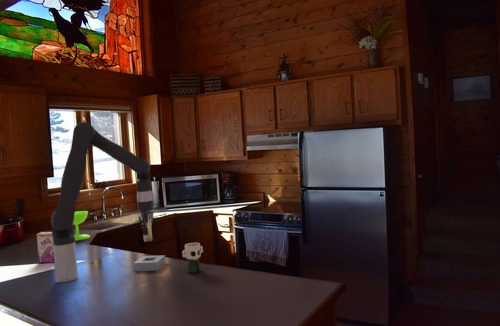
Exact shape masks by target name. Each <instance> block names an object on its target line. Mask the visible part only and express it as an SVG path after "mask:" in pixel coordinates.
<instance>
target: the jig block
mask: <svg viewBox="0 0 500 326" xmlns="http://www.w3.org/2000/svg"><path fill="white" fill-rule="evenodd" d="M166 263H167V262H166V255H143V256H141V257H140V258H138V259H137V260H136V261H134V262H133V272H149V271H150V272H151V271H153V272H154V271H159V270H160V269H161V268H162V267H163V266H165V264H166Z"/></svg>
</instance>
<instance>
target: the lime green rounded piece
mask: <svg viewBox="0 0 500 326" xmlns="http://www.w3.org/2000/svg"><path fill="white" fill-rule="evenodd" d="M88 213H89V211H87V210H86V211H85V210H82V211H75V213H74V221H73V226H74V225H75V233H74V236H75V242H76V241H83V240H86V239H89V238H91V235H89V234H80V230H79V225H80V224H82V223H83V222H85V221H86V220H87V217H88V215H89V214H88Z"/></svg>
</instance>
